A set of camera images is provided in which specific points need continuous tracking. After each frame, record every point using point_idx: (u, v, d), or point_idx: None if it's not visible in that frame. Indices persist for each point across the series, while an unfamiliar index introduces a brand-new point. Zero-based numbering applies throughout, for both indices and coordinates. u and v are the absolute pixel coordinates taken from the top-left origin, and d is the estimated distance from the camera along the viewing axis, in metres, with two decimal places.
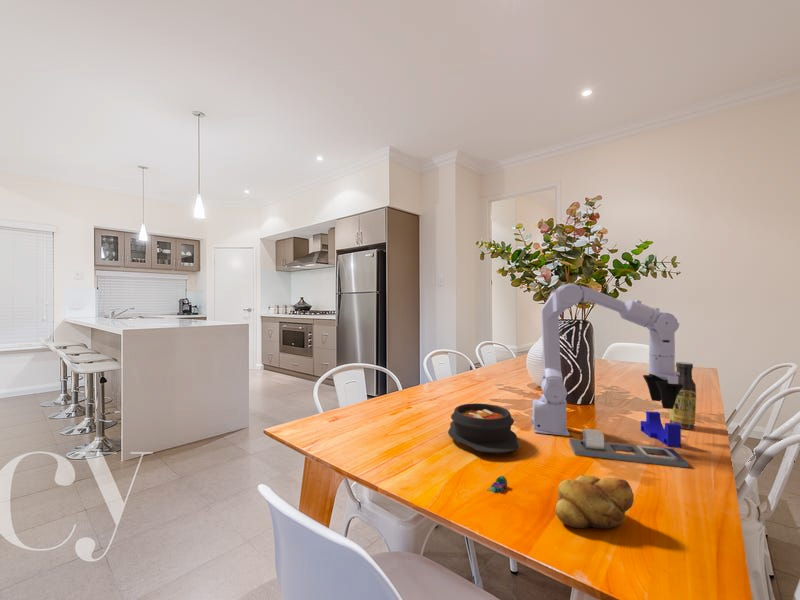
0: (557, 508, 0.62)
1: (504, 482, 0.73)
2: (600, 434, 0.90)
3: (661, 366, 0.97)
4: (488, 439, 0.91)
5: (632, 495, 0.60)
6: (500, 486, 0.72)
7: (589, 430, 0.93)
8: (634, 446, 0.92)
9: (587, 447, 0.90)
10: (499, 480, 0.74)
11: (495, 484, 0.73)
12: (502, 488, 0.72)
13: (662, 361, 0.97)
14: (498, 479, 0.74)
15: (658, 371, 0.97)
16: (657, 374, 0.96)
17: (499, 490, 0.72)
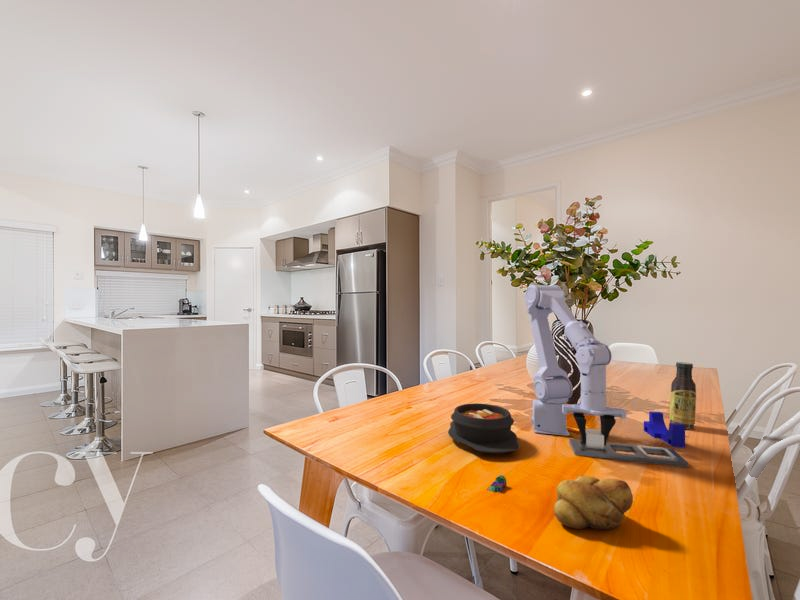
0: (556, 508, 0.61)
1: (503, 481, 0.74)
2: (600, 434, 0.90)
3: None
4: (488, 439, 0.91)
5: (631, 496, 0.59)
6: (499, 485, 0.72)
7: (589, 430, 0.93)
8: (634, 446, 0.92)
9: (587, 447, 0.90)
10: (498, 479, 0.74)
11: (494, 484, 0.73)
12: (501, 487, 0.73)
13: None
14: (497, 478, 0.74)
15: None
16: None
17: (499, 489, 0.72)
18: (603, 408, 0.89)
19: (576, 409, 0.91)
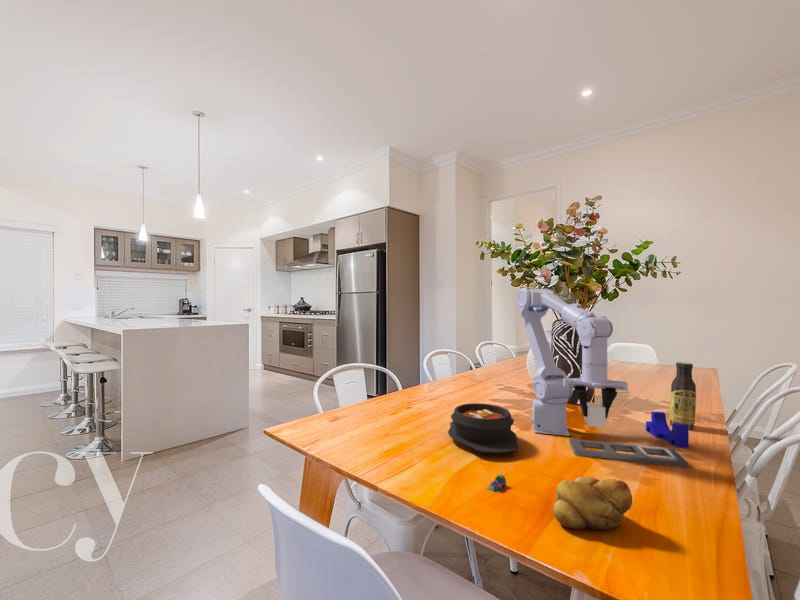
0: (555, 509, 0.61)
1: (503, 481, 0.74)
2: (601, 406, 0.90)
3: None
4: (488, 439, 0.91)
5: (631, 497, 0.59)
6: (499, 485, 0.73)
7: (590, 403, 0.93)
8: (634, 446, 0.92)
9: (588, 419, 0.90)
10: (498, 479, 0.74)
11: (494, 483, 0.73)
12: (501, 487, 0.73)
13: (582, 367, 0.93)
14: (497, 478, 0.75)
15: None
16: None
17: (498, 489, 0.72)
18: (605, 380, 0.89)
19: (577, 382, 0.91)
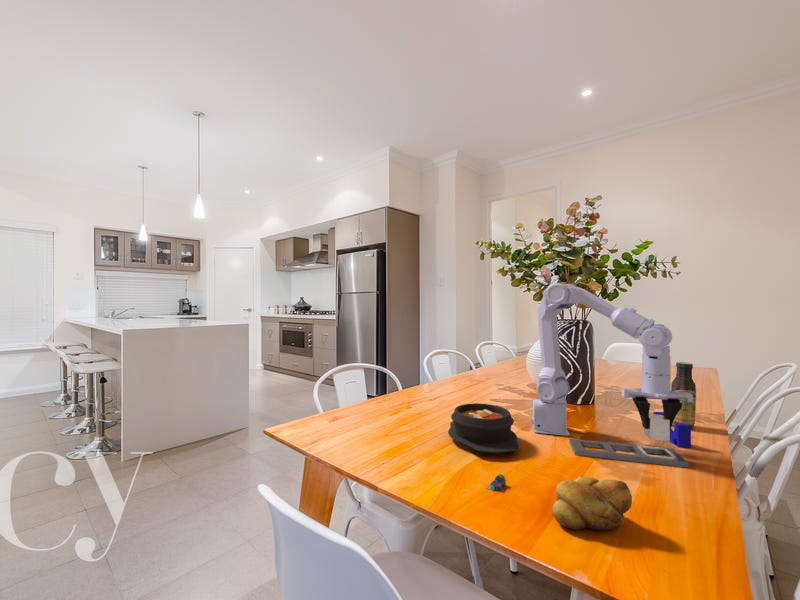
0: (554, 509, 0.61)
1: (503, 480, 0.74)
2: (665, 419, 0.86)
3: (642, 382, 0.90)
4: (488, 439, 0.91)
5: (630, 497, 0.59)
6: (499, 484, 0.73)
7: (651, 415, 0.89)
8: (634, 446, 0.92)
9: (651, 432, 0.86)
10: (498, 478, 0.75)
11: (494, 483, 0.73)
12: (501, 486, 0.73)
13: (642, 377, 0.90)
14: (497, 478, 0.75)
15: None
16: None
17: (498, 488, 0.72)
18: (668, 391, 0.85)
19: (639, 393, 0.88)
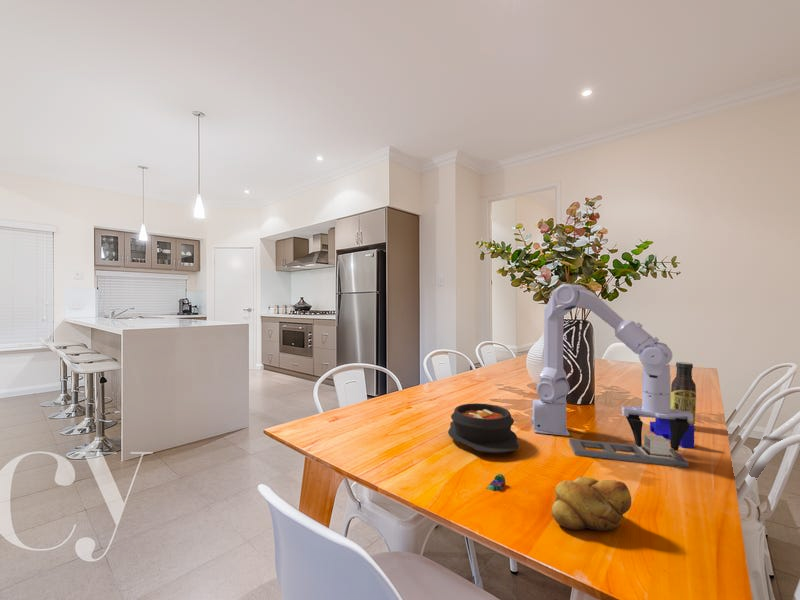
0: (553, 509, 0.61)
1: (502, 480, 0.74)
2: (665, 440, 0.86)
3: (642, 401, 0.90)
4: (488, 439, 0.91)
5: (630, 498, 0.59)
6: (499, 484, 0.73)
7: (651, 436, 0.89)
8: (634, 446, 0.92)
9: (651, 454, 0.86)
10: (497, 478, 0.75)
11: (493, 482, 0.74)
12: (501, 486, 0.73)
13: (642, 395, 0.90)
14: (496, 477, 0.75)
15: None
16: None
17: (498, 488, 0.72)
18: (669, 410, 0.85)
19: (638, 411, 0.88)
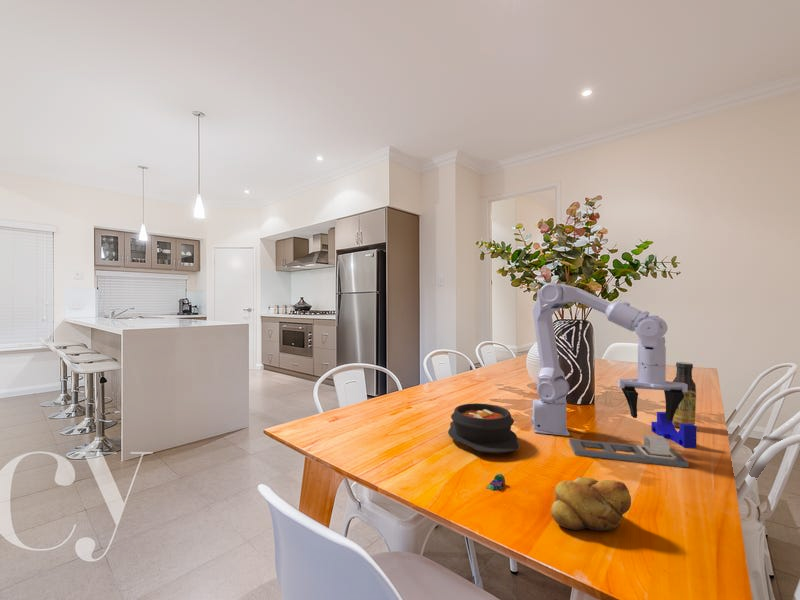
0: (552, 509, 0.61)
1: (502, 480, 0.74)
2: (665, 440, 0.86)
3: (638, 373, 0.91)
4: (488, 439, 0.91)
5: (629, 498, 0.59)
6: (498, 484, 0.73)
7: (651, 436, 0.89)
8: (634, 446, 0.92)
9: (651, 454, 0.86)
10: (497, 478, 0.75)
11: (493, 482, 0.74)
12: (500, 486, 0.73)
13: (638, 368, 0.91)
14: (496, 477, 0.75)
15: (638, 378, 0.92)
16: None
17: (497, 488, 0.73)
18: (664, 381, 0.87)
19: (634, 383, 0.89)
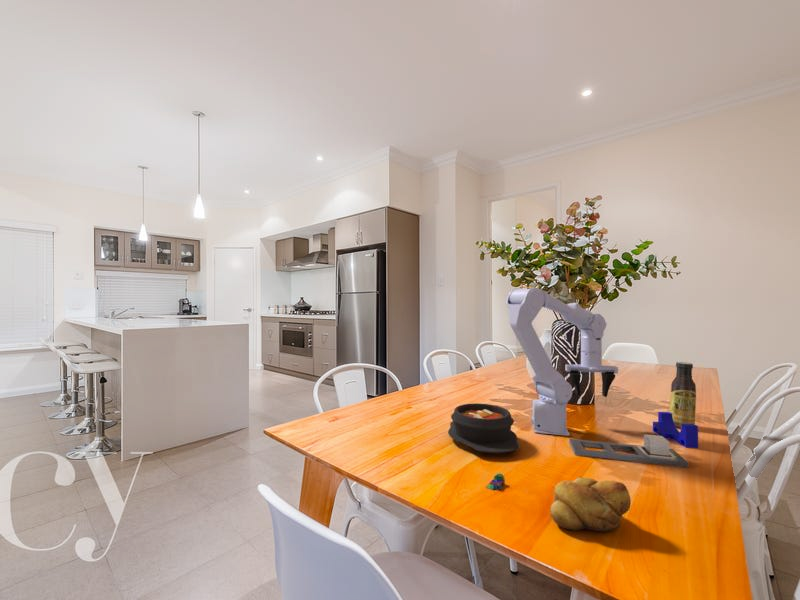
0: (552, 509, 0.61)
1: (502, 479, 0.74)
2: (665, 440, 0.86)
3: None
4: (488, 439, 0.91)
5: (629, 498, 0.59)
6: (498, 483, 0.73)
7: (651, 436, 0.89)
8: (634, 446, 0.92)
9: (651, 454, 0.86)
10: (497, 478, 0.75)
11: (493, 482, 0.74)
12: (500, 485, 0.73)
13: (581, 355, 1.12)
14: (496, 477, 0.75)
15: None
16: None
17: (497, 487, 0.73)
18: (600, 365, 1.09)
19: (577, 367, 1.10)
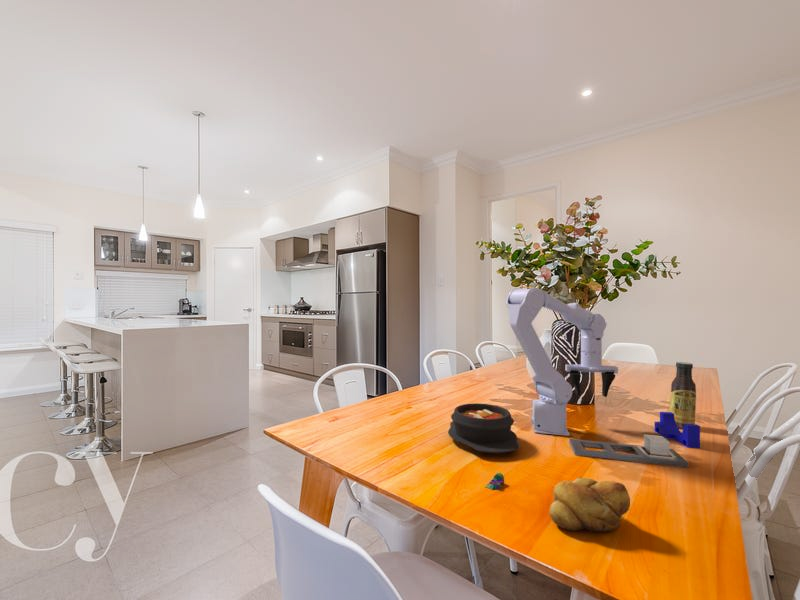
0: (551, 509, 0.61)
1: (501, 479, 0.75)
2: (665, 440, 0.86)
3: None
4: (488, 439, 0.91)
5: (628, 499, 0.59)
6: (498, 483, 0.73)
7: (651, 436, 0.89)
8: (634, 446, 0.92)
9: (651, 454, 0.86)
10: (496, 477, 0.75)
11: (493, 481, 0.74)
12: (500, 485, 0.73)
13: (581, 355, 1.12)
14: (495, 476, 0.75)
15: None
16: None
17: (497, 487, 0.73)
18: (600, 365, 1.09)
19: (577, 367, 1.10)
